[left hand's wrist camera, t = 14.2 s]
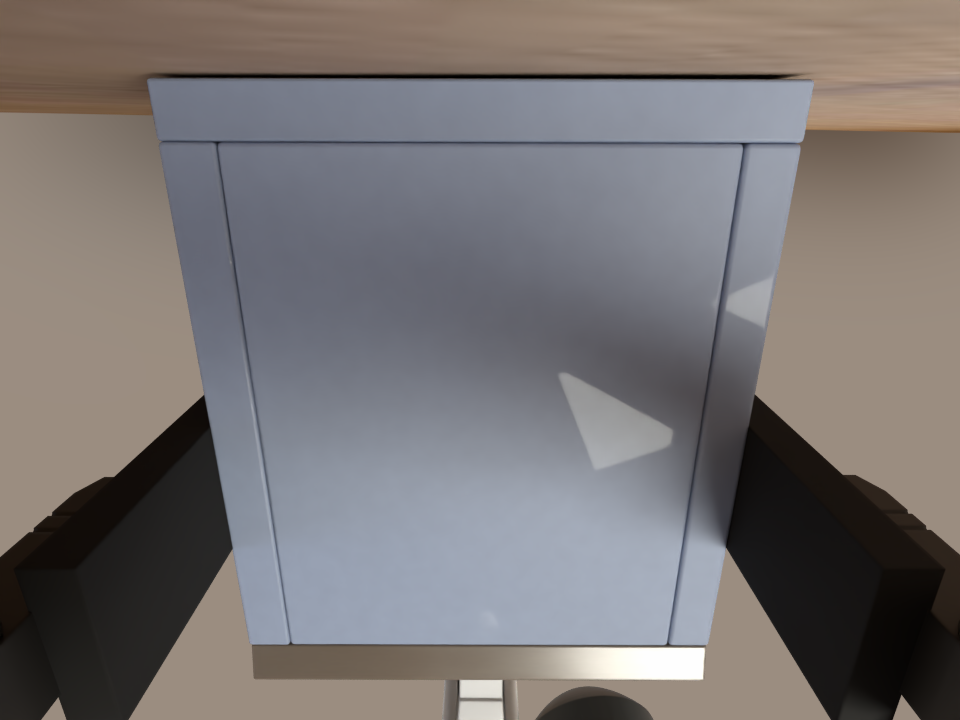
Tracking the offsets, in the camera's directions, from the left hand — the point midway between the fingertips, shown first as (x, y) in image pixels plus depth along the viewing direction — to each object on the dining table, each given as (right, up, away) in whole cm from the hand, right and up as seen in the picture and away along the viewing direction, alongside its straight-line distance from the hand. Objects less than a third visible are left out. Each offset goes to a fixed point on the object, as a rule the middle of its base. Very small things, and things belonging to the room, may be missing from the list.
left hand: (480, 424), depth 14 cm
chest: (0, +8, +2) cm, 8 cm away
